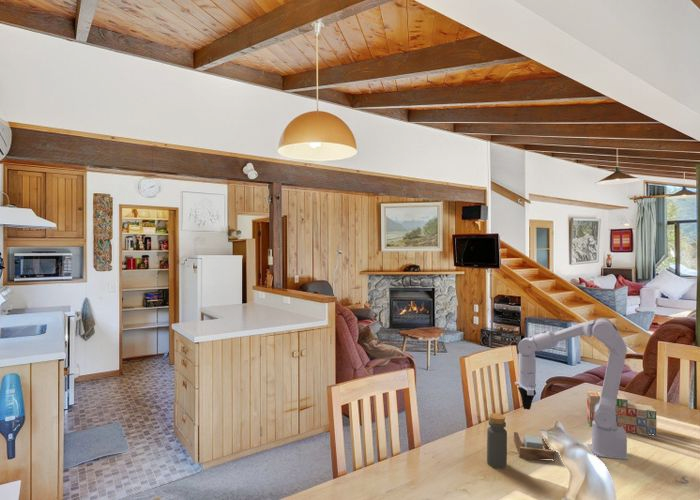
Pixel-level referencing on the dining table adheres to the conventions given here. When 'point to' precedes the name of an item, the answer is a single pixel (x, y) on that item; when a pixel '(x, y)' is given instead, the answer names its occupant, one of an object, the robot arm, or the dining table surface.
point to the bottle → (497, 441)
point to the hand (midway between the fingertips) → (526, 408)
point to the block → (533, 442)
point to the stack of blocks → (626, 414)
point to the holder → (533, 450)
